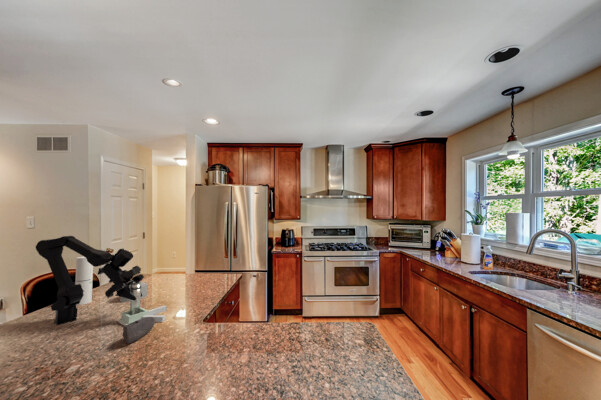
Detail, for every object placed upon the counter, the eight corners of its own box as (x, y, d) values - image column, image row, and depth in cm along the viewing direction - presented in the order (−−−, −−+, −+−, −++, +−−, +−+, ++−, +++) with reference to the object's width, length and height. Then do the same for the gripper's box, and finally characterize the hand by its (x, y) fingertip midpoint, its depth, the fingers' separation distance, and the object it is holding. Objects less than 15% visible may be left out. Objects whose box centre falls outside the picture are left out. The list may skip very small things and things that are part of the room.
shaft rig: (135, 332, 100) (135, 322, 100) (117, 321, 110) (118, 313, 110) (179, 315, 116) (179, 307, 116) (160, 307, 125) (161, 300, 126)
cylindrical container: (70, 304, 131) (73, 257, 132) (86, 299, 138) (88, 255, 139) (80, 305, 129) (82, 258, 130) (94, 301, 136) (96, 256, 137)
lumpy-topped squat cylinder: (150, 295, 145) (150, 281, 145) (128, 303, 132) (129, 287, 133) (137, 293, 148) (137, 279, 148) (115, 301, 135) (115, 285, 136)
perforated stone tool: (149, 327, 104) (150, 311, 105) (159, 328, 103) (160, 312, 103) (116, 346, 89) (117, 327, 90) (127, 348, 88) (128, 328, 89)
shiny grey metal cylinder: (129, 317, 108) (130, 285, 109) (129, 314, 112) (130, 283, 112) (140, 315, 111) (141, 284, 112) (140, 312, 114) (141, 282, 115)
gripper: (113, 266, 103) (138, 292, 103) (141, 257, 122) (162, 280, 121) (93, 284, 103) (118, 311, 102) (124, 273, 121) (146, 295, 121)
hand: (138, 298), depth 112 cm, fingers closed on shiny grey metal cylinder, 4 cm apart
